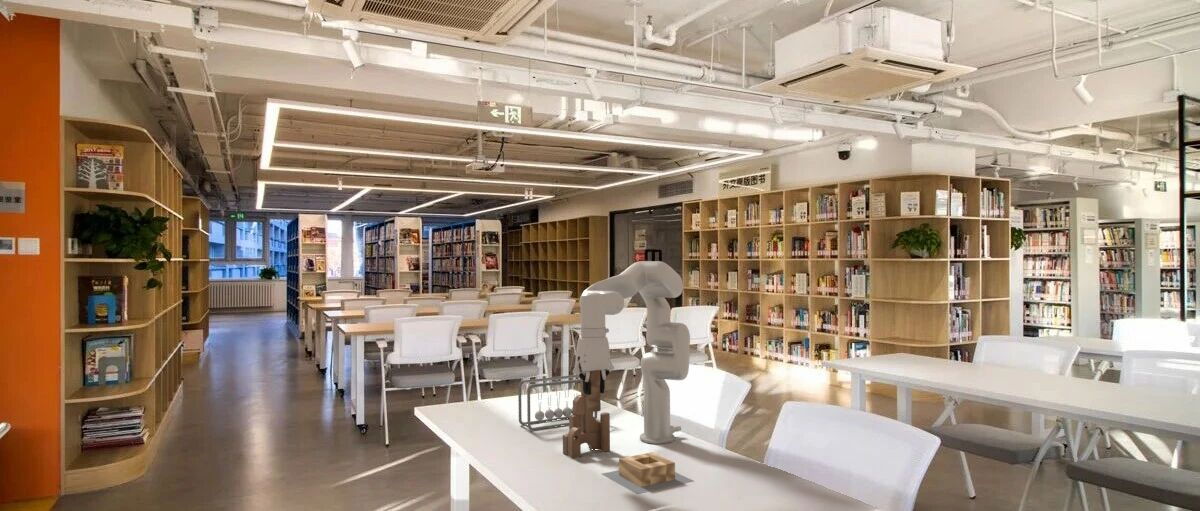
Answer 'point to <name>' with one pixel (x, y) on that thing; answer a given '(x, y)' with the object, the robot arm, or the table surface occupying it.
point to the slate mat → (637, 489)
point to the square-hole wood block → (646, 469)
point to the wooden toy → (586, 428)
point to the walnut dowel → (594, 392)
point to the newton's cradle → (549, 413)
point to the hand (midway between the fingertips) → (593, 392)
